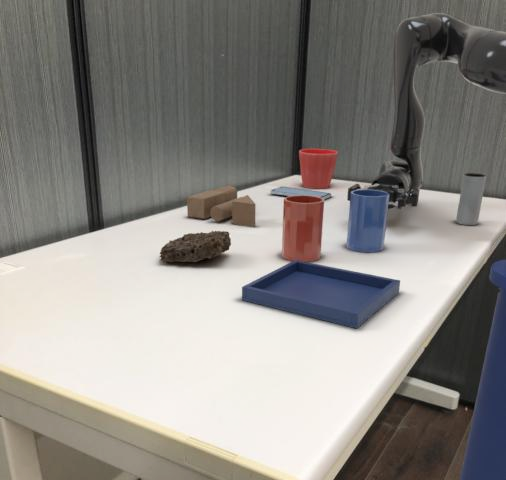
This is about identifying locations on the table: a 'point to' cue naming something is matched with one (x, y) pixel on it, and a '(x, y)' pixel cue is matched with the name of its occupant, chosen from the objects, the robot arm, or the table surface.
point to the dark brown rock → (196, 247)
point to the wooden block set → (222, 206)
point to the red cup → (302, 228)
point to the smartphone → (299, 192)
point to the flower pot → (317, 167)
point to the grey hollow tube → (470, 198)
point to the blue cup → (367, 220)
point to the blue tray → (322, 292)
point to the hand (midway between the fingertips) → (377, 201)
